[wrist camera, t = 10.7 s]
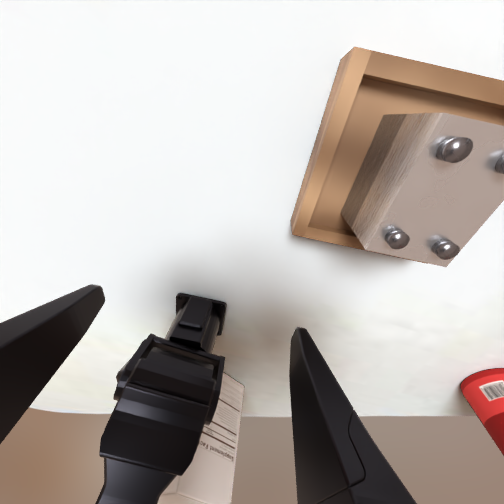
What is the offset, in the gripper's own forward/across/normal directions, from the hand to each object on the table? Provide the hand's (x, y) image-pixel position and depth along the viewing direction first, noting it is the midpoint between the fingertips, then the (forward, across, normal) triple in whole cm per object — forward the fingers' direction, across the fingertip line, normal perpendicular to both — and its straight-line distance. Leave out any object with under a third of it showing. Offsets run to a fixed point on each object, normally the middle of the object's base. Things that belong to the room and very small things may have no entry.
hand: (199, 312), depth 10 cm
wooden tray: (+13, -11, -6) cm, 18 cm away
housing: (+11, -11, -6) cm, 17 cm away
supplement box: (+13, 0, +34) cm, 36 cm away
